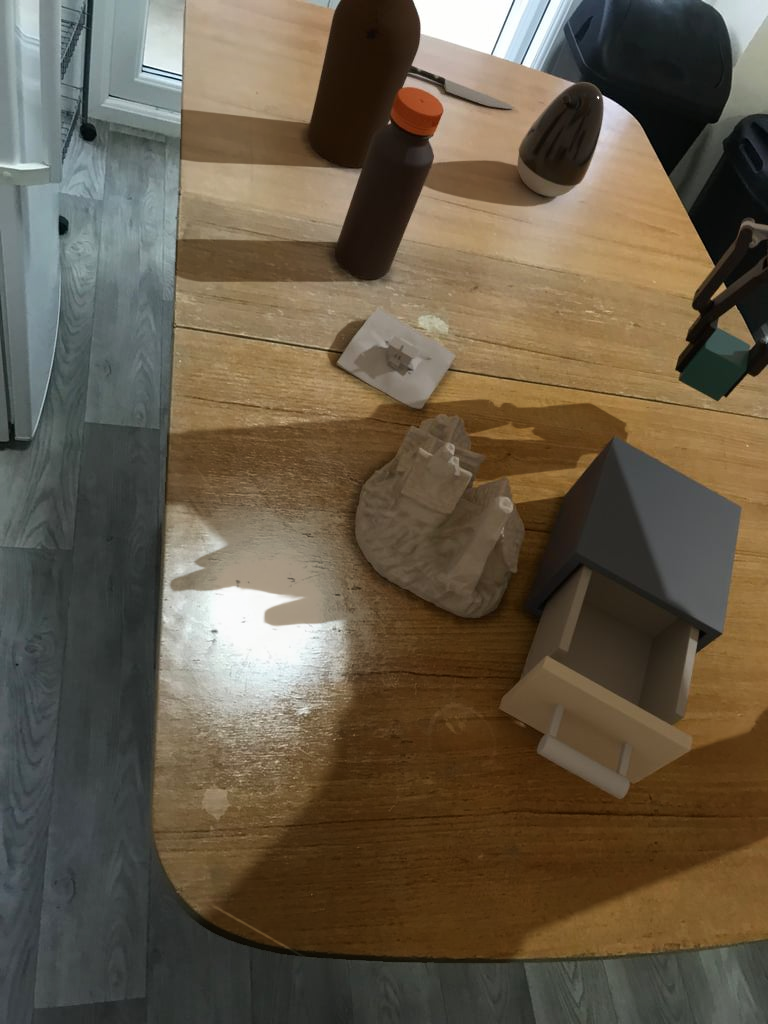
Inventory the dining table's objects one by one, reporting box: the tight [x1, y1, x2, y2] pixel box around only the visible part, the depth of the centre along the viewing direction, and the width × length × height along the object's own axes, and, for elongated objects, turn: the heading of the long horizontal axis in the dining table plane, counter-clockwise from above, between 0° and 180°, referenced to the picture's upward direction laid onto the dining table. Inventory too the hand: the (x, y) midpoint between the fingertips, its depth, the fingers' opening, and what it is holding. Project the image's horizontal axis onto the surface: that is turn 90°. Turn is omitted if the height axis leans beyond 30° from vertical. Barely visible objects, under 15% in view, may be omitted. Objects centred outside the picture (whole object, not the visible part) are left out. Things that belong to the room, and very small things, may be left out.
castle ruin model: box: [354, 413, 526, 619], centre depth 73 cm, size 16×16×15 cm
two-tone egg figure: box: [517, 81, 605, 198], centre depth 116 cm, size 10×10×15 cm
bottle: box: [334, 86, 444, 280], centre depth 91 cm, size 7×7×20 cm
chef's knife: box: [408, 65, 516, 110], centre depth 130 cm, size 19×1×3 cm
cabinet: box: [523, 435, 743, 655], centre depth 78 cm, size 16×14×10 cm
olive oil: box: [307, 0, 422, 169], centre depth 102 cm, size 11×11×25 cm
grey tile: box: [336, 306, 457, 411], centre depth 88 cm, size 12×11×4 cm
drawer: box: [498, 563, 700, 800], centre depth 69 cm, size 19×13×8 cm, turn 157°
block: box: [677, 326, 751, 402], centre depth 92 cm, size 5×5×5 cm
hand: (702, 376), depth 94 cm, fingers closed on block, 5 cm apart
